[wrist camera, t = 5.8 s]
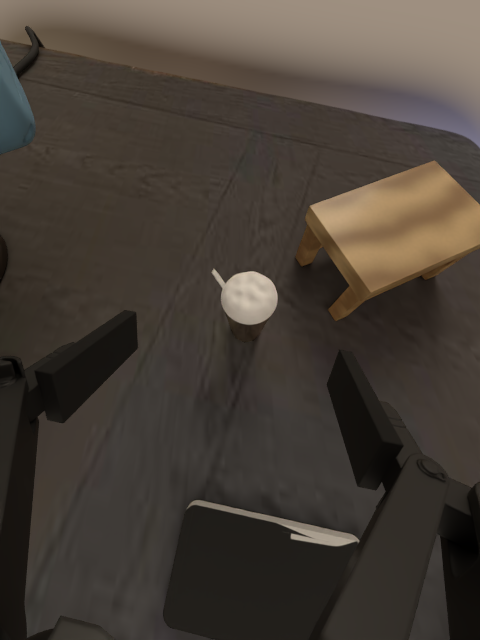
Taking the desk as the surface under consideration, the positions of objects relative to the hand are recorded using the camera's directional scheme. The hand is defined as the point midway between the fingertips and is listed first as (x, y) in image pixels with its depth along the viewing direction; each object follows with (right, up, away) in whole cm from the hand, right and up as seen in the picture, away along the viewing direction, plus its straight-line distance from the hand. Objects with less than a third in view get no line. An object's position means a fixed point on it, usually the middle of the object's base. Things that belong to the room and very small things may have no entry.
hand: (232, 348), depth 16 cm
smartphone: (+3, -19, +4) cm, 19 cm away
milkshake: (+1, +1, +12) cm, 12 cm away
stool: (+16, +8, +14) cm, 23 cm away
